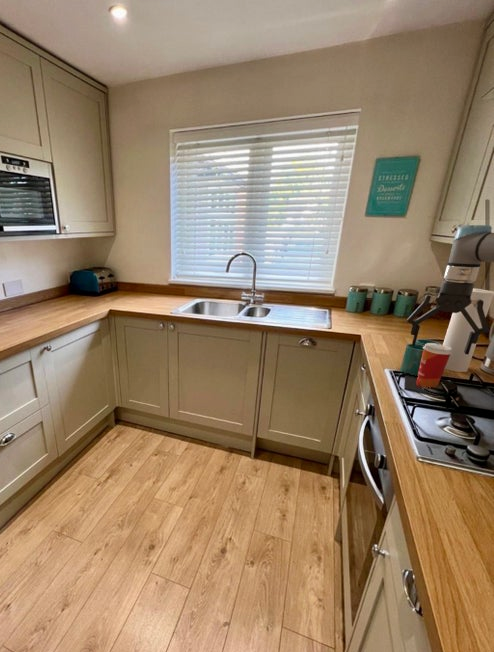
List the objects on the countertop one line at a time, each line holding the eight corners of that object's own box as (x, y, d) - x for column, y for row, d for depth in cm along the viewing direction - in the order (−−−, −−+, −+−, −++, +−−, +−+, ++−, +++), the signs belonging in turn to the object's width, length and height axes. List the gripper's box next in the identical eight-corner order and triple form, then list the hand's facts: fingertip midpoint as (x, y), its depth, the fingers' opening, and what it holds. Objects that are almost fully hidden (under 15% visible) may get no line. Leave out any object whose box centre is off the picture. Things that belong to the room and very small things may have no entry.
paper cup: (416, 379, 115) (428, 340, 110) (443, 387, 109) (456, 347, 104) (408, 385, 110) (420, 345, 105) (436, 393, 104) (449, 352, 100)
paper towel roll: (471, 369, 126) (499, 290, 115) (460, 373, 121) (488, 292, 111) (443, 360, 133) (467, 286, 123) (432, 365, 129) (455, 287, 118)
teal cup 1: (423, 371, 122) (431, 346, 119) (424, 378, 116) (432, 352, 113) (400, 367, 126) (406, 342, 122) (399, 373, 120) (406, 347, 117)
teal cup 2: (432, 366, 128) (439, 341, 124) (433, 372, 122) (441, 346, 118) (409, 361, 132) (416, 337, 128) (409, 367, 126) (416, 342, 122)
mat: (446, 385, 111) (447, 384, 111) (449, 399, 102) (450, 398, 102) (404, 376, 117) (405, 375, 117) (404, 389, 108) (404, 388, 108)
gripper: (408, 278, 101) (392, 344, 108) (519, 286, 88) (492, 360, 95) (408, 276, 107) (393, 339, 114) (512, 283, 94) (488, 353, 101)
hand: (438, 348), depth 105 cm, fingers open, 13 cm apart
